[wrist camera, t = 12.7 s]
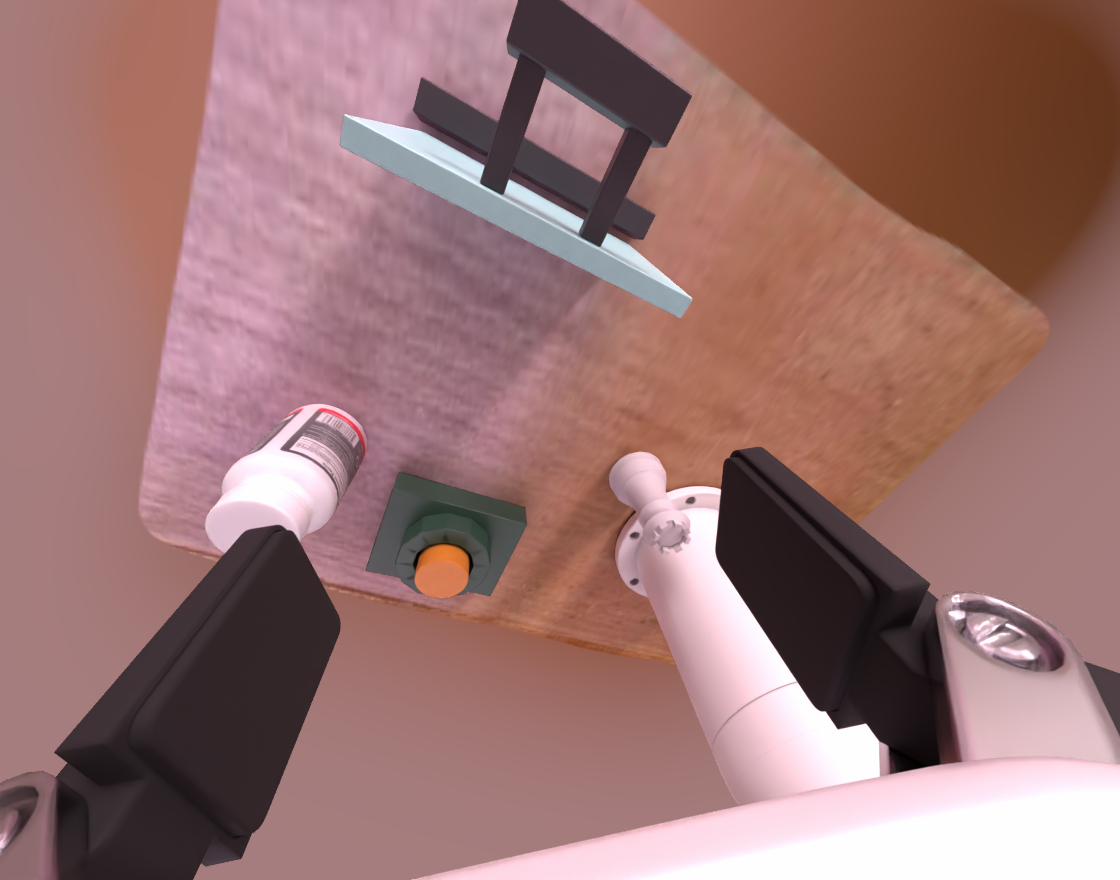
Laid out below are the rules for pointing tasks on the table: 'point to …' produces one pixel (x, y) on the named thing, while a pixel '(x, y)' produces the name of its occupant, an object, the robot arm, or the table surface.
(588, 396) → the table surface
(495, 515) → the button box
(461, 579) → the button
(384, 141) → the pale blue flat panel
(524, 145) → the bar
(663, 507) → the rook chess piece
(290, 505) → the pill bottle
